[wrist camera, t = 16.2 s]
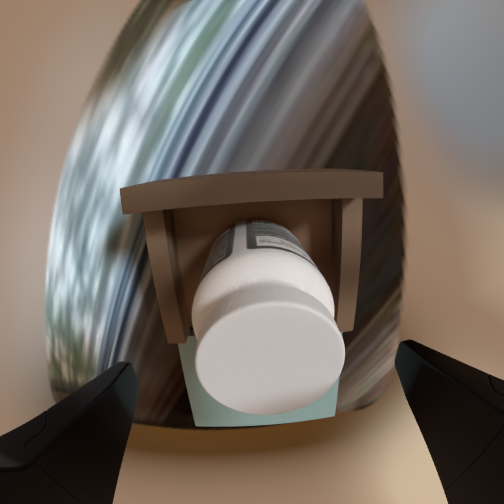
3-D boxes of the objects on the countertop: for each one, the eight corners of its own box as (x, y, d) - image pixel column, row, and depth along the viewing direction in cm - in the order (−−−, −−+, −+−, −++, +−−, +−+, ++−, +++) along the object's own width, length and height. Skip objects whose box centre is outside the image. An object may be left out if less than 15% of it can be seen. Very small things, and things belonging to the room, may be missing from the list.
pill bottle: (233, 313, 18) (225, 437, 9) (194, 238, 17) (138, 328, 7) (313, 281, 18) (371, 390, 8) (282, 200, 16) (333, 250, 7)
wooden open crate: (158, 180, 17) (119, 188, 11) (341, 168, 17) (383, 172, 11) (178, 316, 20) (158, 368, 14) (337, 305, 20) (366, 352, 14)
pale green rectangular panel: (176, 336, 19) (195, 426, 20) (342, 324, 19) (334, 415, 20) (180, 329, 20) (197, 417, 21) (337, 318, 20) (331, 408, 21)
